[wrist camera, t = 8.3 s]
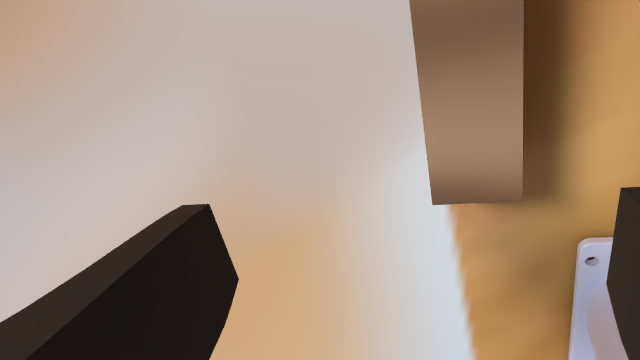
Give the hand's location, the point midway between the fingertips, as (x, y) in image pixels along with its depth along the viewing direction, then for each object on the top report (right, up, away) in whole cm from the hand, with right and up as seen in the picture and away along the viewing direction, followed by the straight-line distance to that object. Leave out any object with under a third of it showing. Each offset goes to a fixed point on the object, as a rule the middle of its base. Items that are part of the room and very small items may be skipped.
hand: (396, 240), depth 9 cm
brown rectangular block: (+3, +7, +7) cm, 11 cm away
